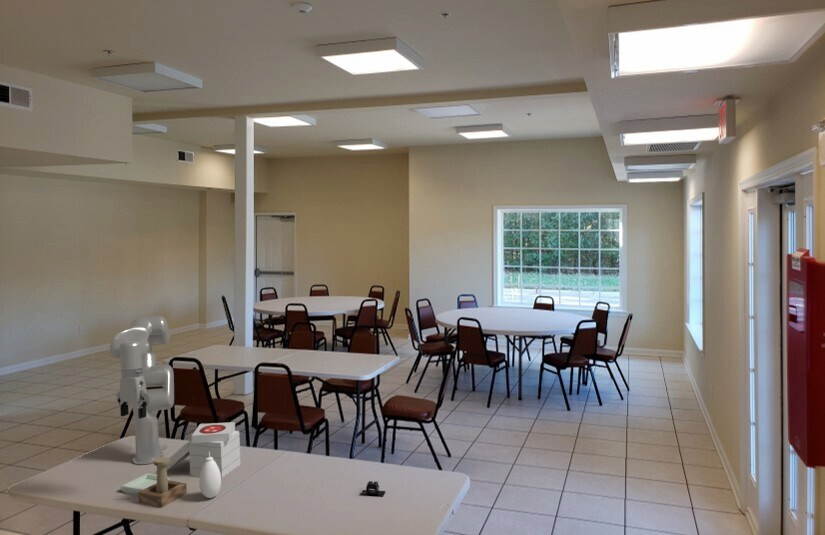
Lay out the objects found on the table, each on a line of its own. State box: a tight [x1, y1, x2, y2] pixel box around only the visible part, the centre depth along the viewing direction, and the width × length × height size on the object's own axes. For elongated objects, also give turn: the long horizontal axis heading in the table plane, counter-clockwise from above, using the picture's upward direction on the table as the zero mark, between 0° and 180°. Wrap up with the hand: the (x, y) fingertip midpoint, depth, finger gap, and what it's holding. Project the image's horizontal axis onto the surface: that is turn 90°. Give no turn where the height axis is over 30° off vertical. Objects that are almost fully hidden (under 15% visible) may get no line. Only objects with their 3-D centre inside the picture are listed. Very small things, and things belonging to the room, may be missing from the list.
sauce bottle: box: [198, 452, 222, 499], centre depth 226 cm, size 8×8×18 cm
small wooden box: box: [137, 480, 188, 508], centre depth 226 cm, size 12×12×4 cm
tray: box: [120, 472, 171, 496], centre depth 236 cm, size 13×12×2 cm
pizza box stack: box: [166, 421, 242, 479], centre depth 254 cm, size 19×30×18 cm, turn 77°
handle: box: [152, 456, 170, 494], centre depth 226 cm, size 5×6×15 cm
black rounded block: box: [358, 480, 386, 498], centre depth 227 cm, size 12×7×5 cm, turn 78°
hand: (133, 416), depth 231 cm, fingers open, 9 cm apart
